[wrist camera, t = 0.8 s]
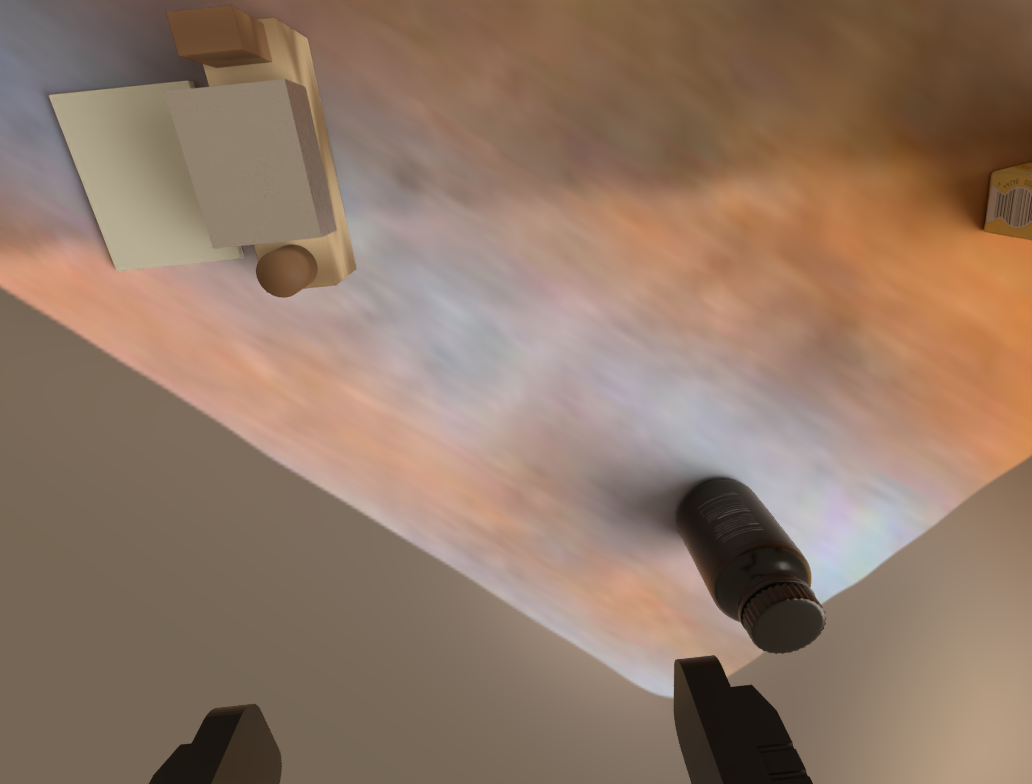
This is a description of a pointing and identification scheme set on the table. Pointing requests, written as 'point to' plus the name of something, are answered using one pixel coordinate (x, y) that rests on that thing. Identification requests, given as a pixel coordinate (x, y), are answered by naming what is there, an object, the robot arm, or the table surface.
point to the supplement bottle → (750, 565)
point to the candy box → (1010, 202)
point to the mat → (137, 176)
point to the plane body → (286, 55)
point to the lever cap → (254, 162)
